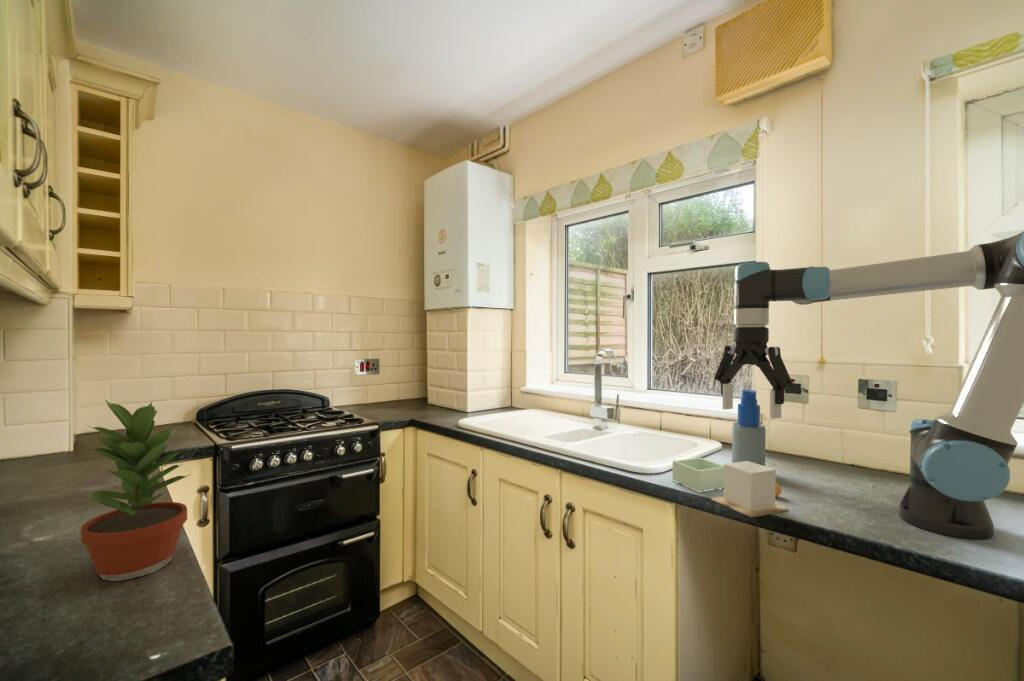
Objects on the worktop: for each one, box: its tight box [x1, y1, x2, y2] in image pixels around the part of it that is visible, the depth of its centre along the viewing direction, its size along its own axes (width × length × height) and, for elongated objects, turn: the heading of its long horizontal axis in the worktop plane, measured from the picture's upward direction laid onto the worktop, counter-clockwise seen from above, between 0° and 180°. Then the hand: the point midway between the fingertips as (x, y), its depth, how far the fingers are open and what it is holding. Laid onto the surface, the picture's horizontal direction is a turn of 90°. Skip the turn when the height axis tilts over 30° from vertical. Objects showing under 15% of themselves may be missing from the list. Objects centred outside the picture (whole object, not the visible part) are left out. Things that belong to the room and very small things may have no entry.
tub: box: [672, 457, 724, 491], centre depth 126 cm, size 10×10×6 cm
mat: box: [710, 495, 790, 519], centre depth 111 cm, size 12×12×1 cm
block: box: [722, 461, 777, 511], centre depth 111 cm, size 8×8×9 cm
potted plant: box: [80, 398, 192, 575], centre depth 81 cm, size 15×15×30 cm
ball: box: [775, 482, 782, 498], centre depth 117 cm, size 4×4×4 cm
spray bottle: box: [731, 389, 767, 466], centre depth 137 cm, size 9×9×25 cm
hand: (750, 413), depth 111 cm, fingers open, 13 cm apart
